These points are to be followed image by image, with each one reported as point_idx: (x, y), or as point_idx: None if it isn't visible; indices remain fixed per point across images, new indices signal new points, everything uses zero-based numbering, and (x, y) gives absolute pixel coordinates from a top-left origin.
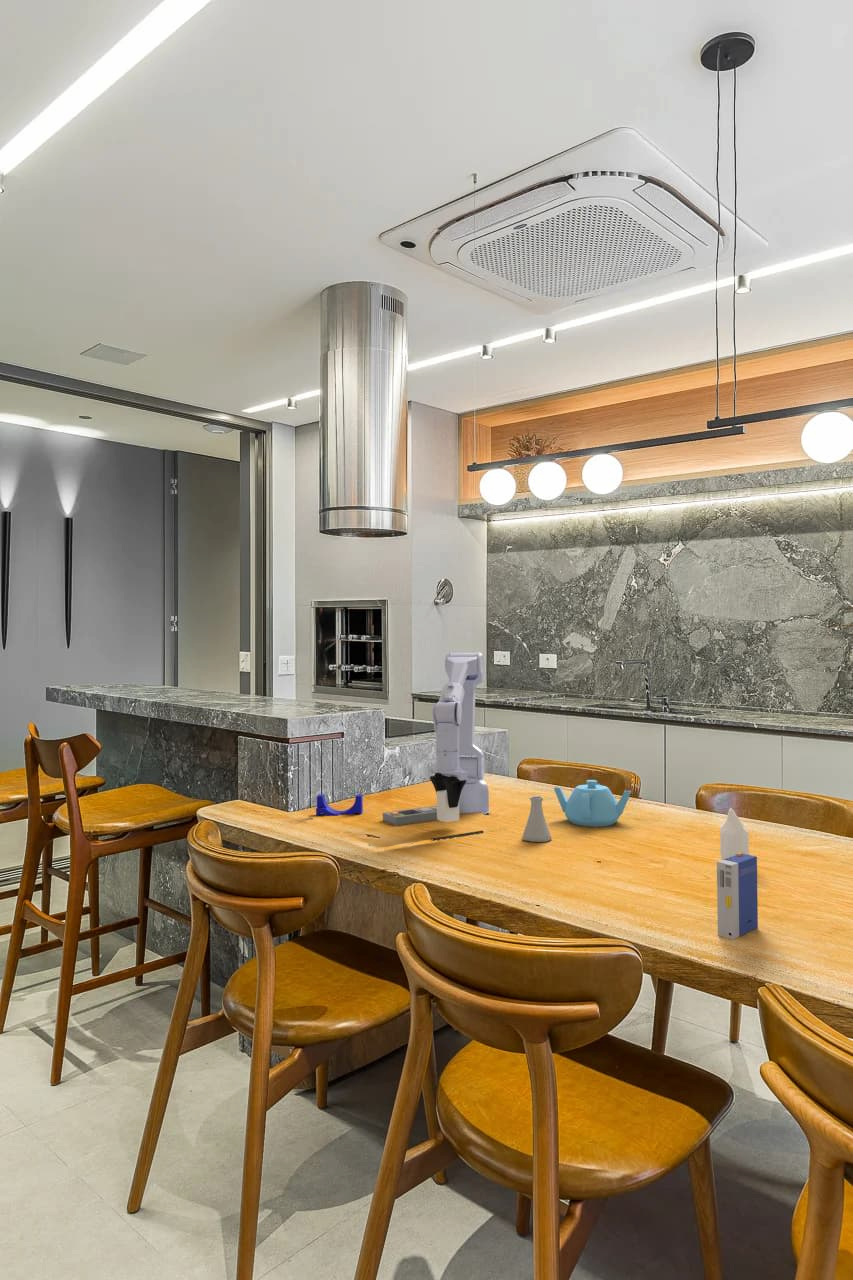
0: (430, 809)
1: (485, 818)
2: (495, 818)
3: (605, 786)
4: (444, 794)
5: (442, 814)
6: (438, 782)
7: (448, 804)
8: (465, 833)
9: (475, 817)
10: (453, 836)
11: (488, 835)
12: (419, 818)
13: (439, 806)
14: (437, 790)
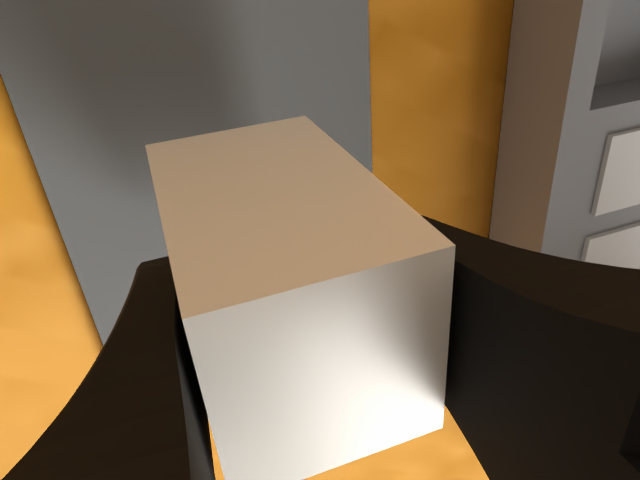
0: (612, 196)
1: (435, 434)
2: (409, 470)
3: None
4: (205, 298)
5: (217, 157)
6: (554, 366)
7: (170, 266)
8: (83, 257)
9: None
10: (28, 142)
11: (38, 385)
12: (547, 58)
13: (297, 173)
14: (469, 265)
